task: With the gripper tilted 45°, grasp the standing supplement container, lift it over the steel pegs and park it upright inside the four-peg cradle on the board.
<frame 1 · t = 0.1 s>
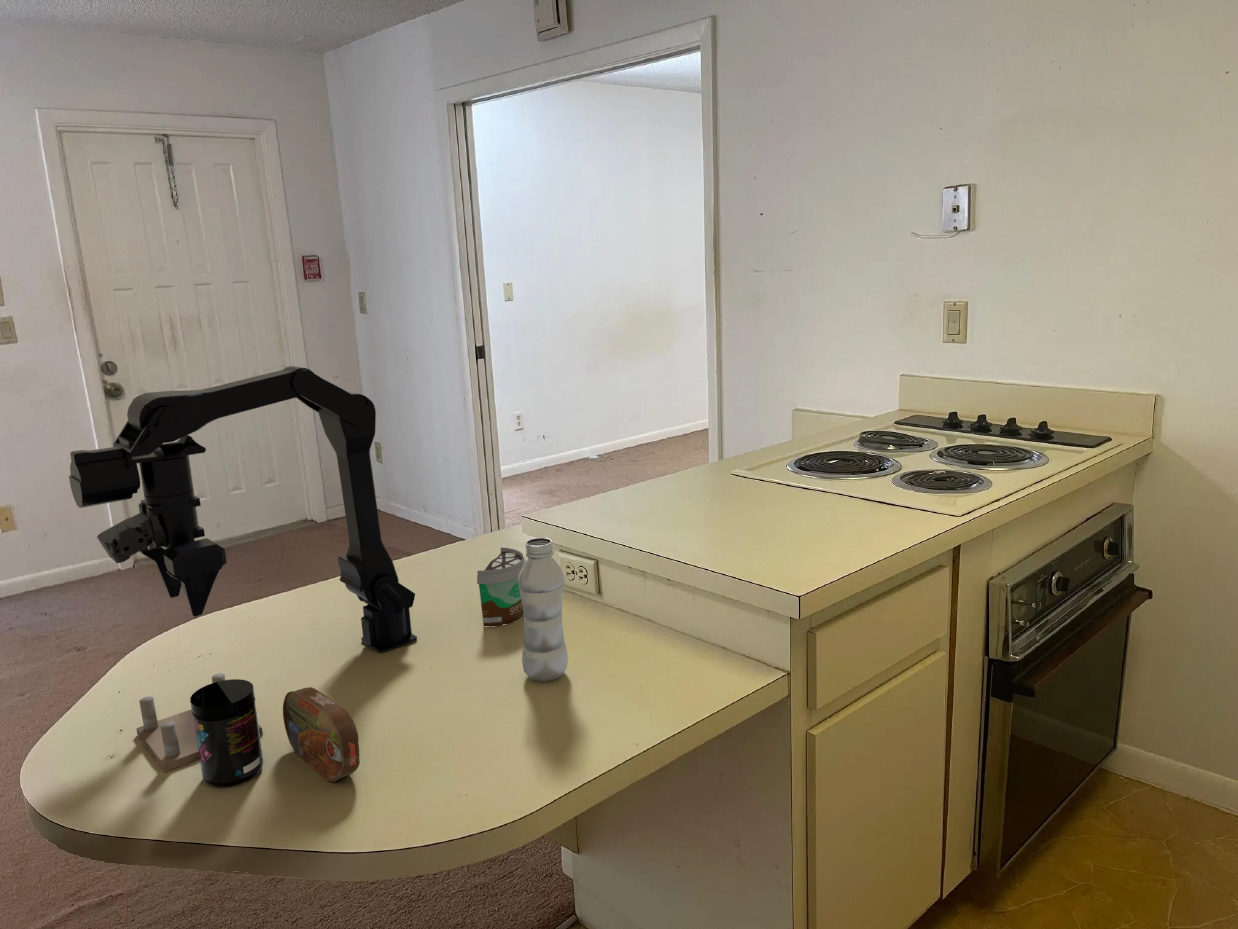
hand: (185, 605, 117), 15 cm above the table, tool pointing down, fingers open, 9 cm apart
food container: (511, 617, 147), on the table
tin: (324, 764, 106), on the table
plastic bottle: (546, 677, 126), on the table
supplement container: (234, 775, 105), on the table
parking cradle: (199, 735, 113), on the table
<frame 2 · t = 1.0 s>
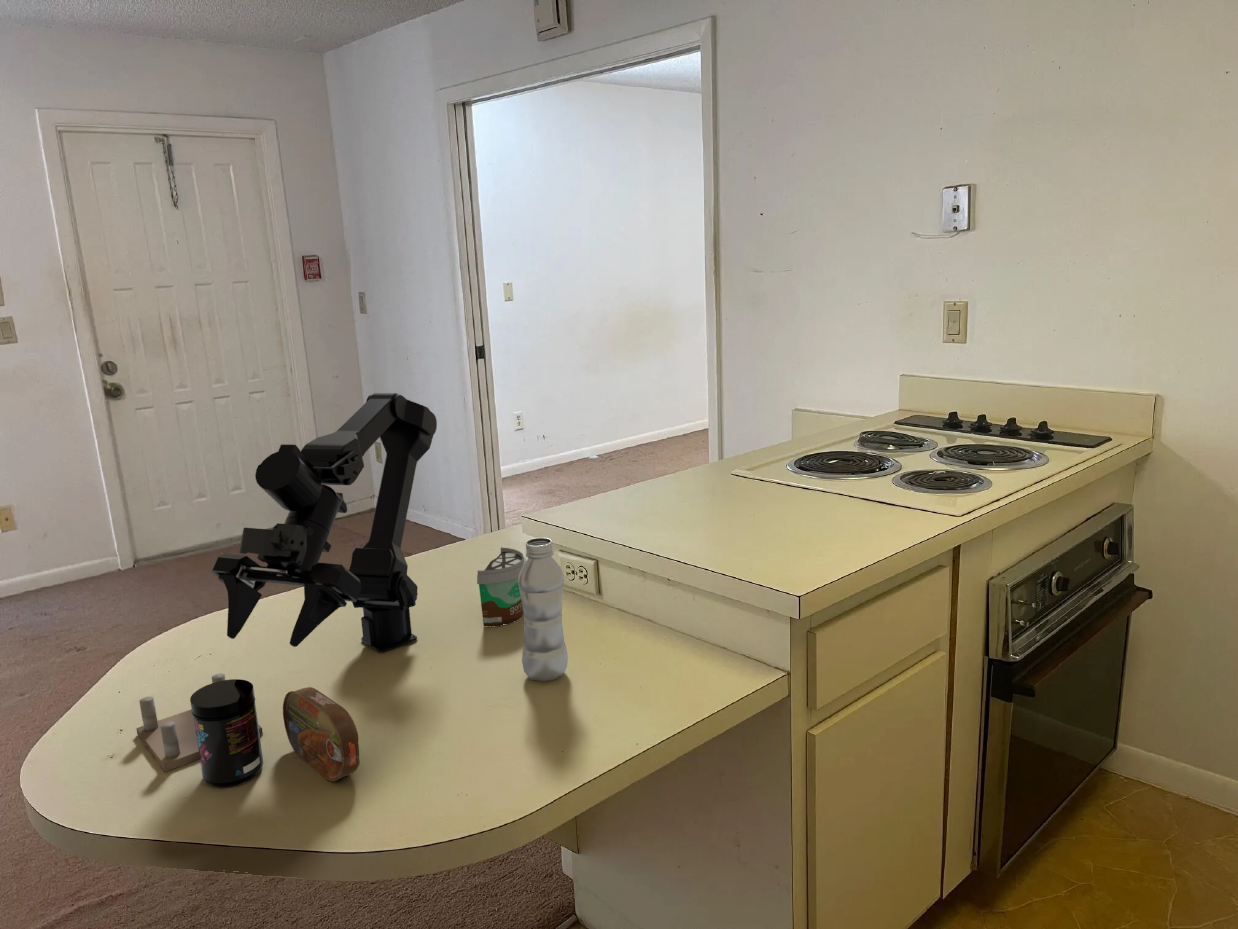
hand: (261, 641, 109), 13 cm above the table, tool tilted 45°, fingers open, 9 cm apart
nothing on the table moved.
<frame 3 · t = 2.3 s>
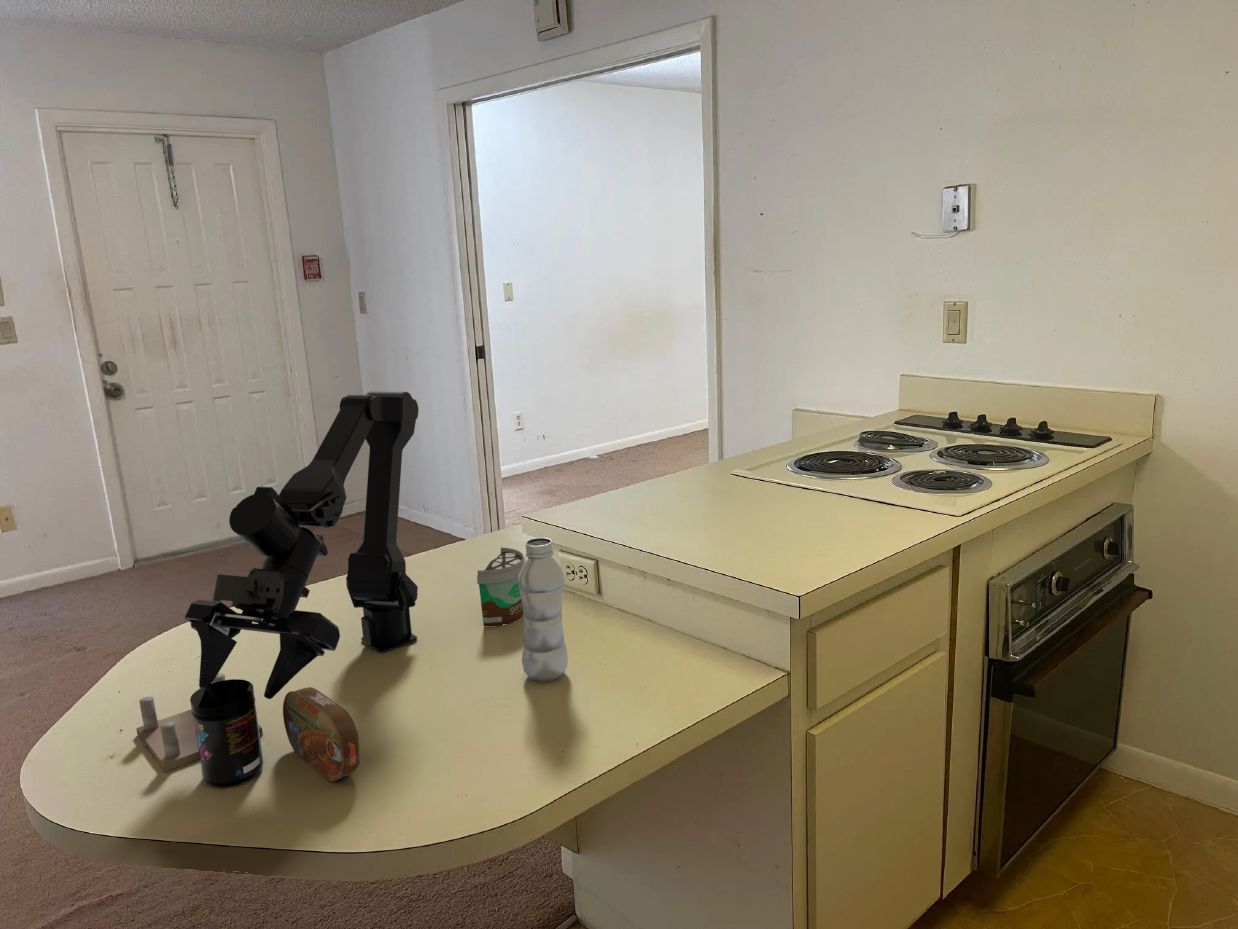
hand: (234, 693, 104), 9 cm above the table, tool tilted 45°, fingers open, 9 cm apart
nothing on the table moved.
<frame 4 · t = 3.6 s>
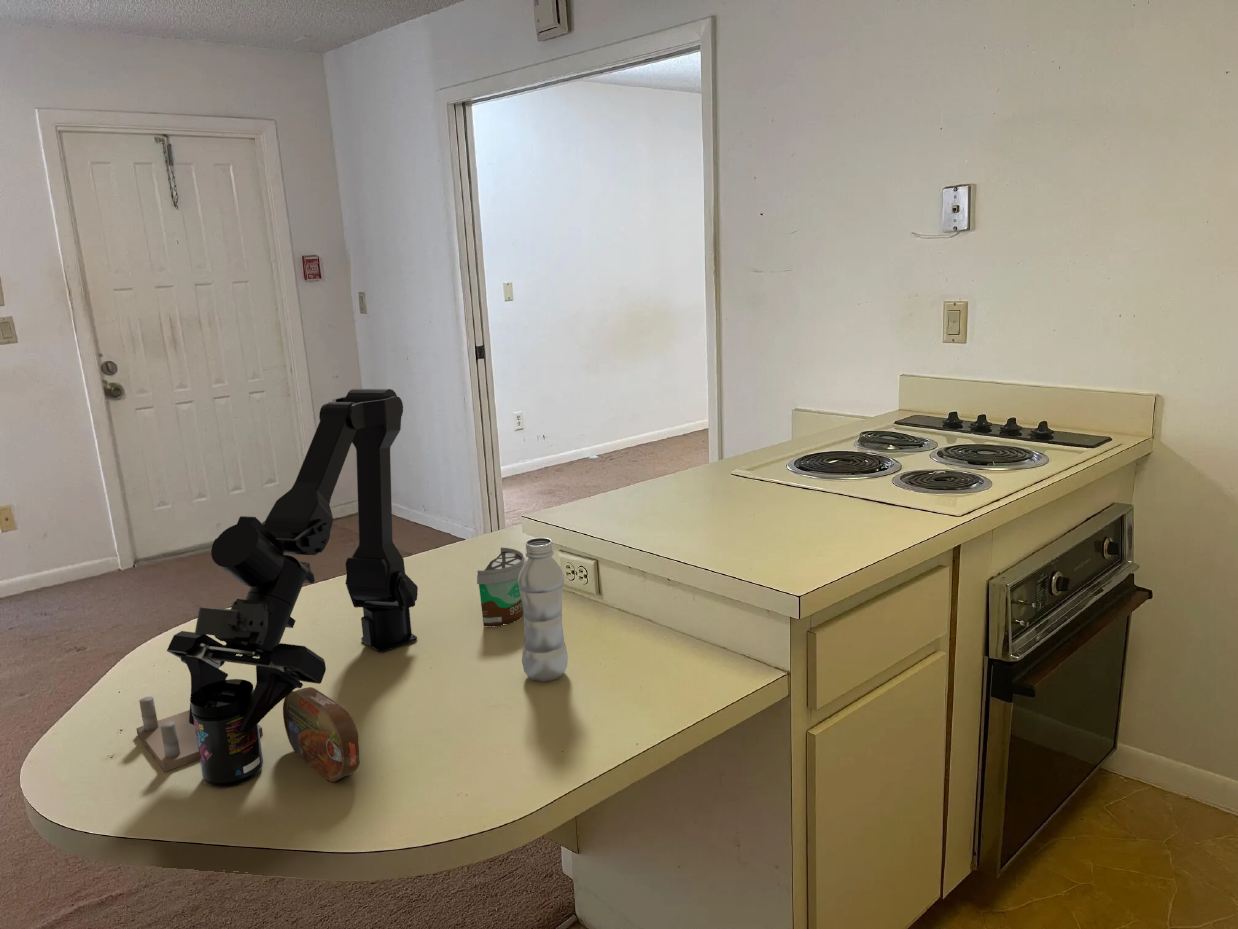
hand: (217, 728, 102), 7 cm above the table, tool tilted 45°, fingers closed on supplement container, 7 cm apart
supplement container: (234, 774, 105), on the table, touching gripper
everything else where it was.
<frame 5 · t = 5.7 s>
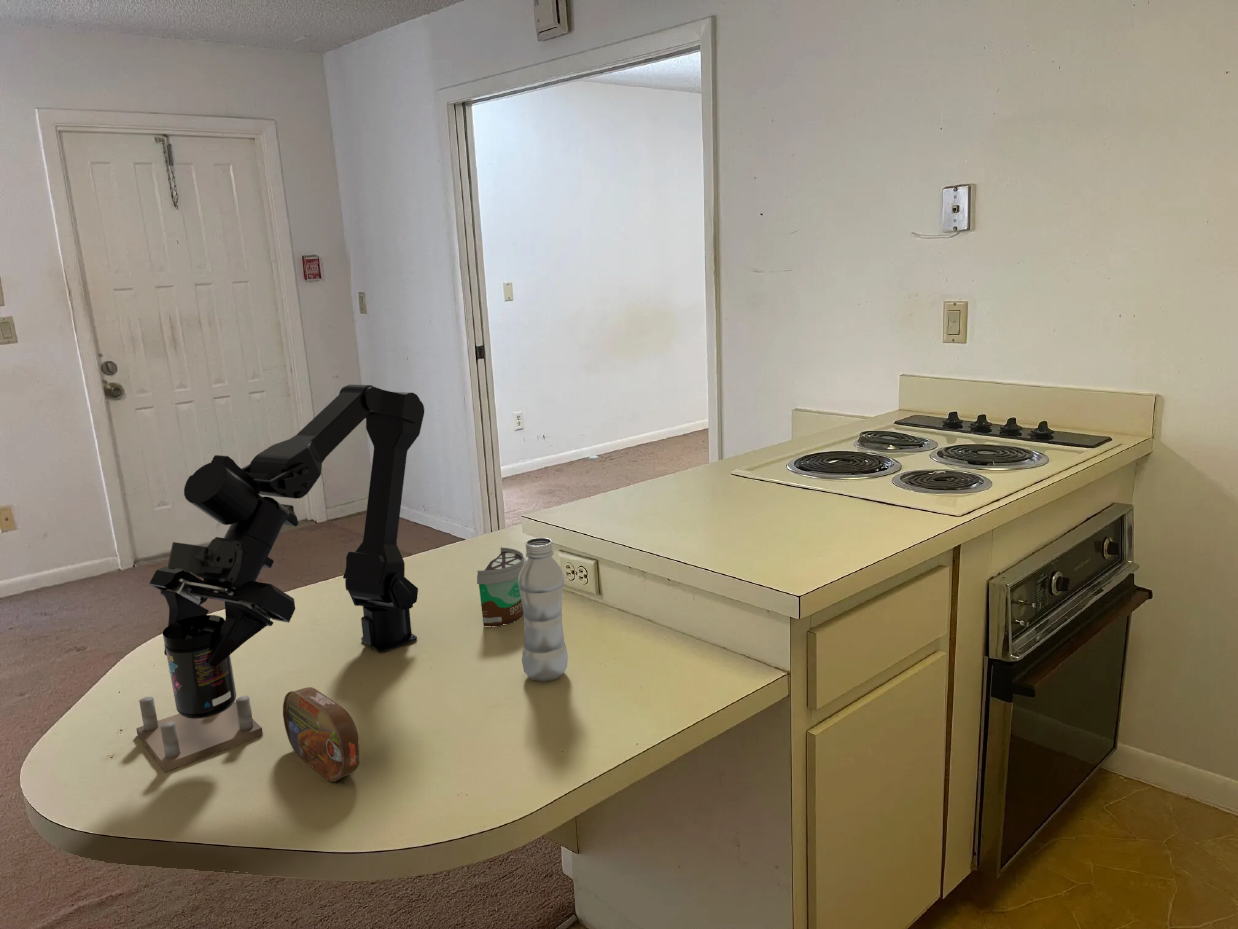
hand: (189, 660, 104), 13 cm above the table, tool tilted 45°, fingers closed on supplement container, 7 cm apart
supplement container: (207, 707, 107), point 6 cm above the table, touching gripper
everything else where it was.
when the fingers open (9 cm above the table, at t = 7.8 s): supplement container drops 1 cm, resting on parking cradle.
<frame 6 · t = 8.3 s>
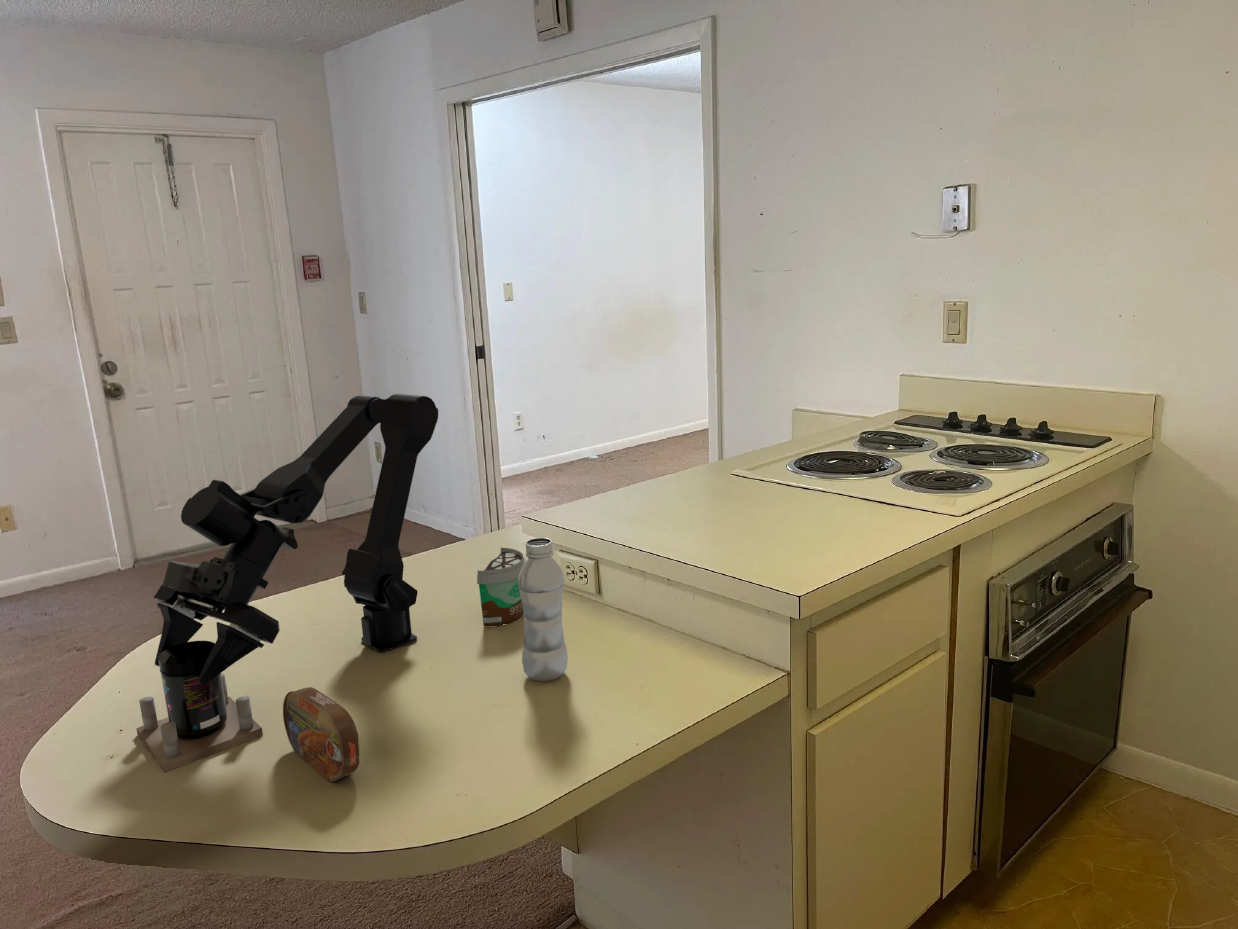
hand: (179, 674, 110), 9 cm above the table, tool tilted 45°, fingers open, 9 cm apart
supplement container: (200, 728, 113), point 1 cm above the table, touching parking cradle
everything else where it was.
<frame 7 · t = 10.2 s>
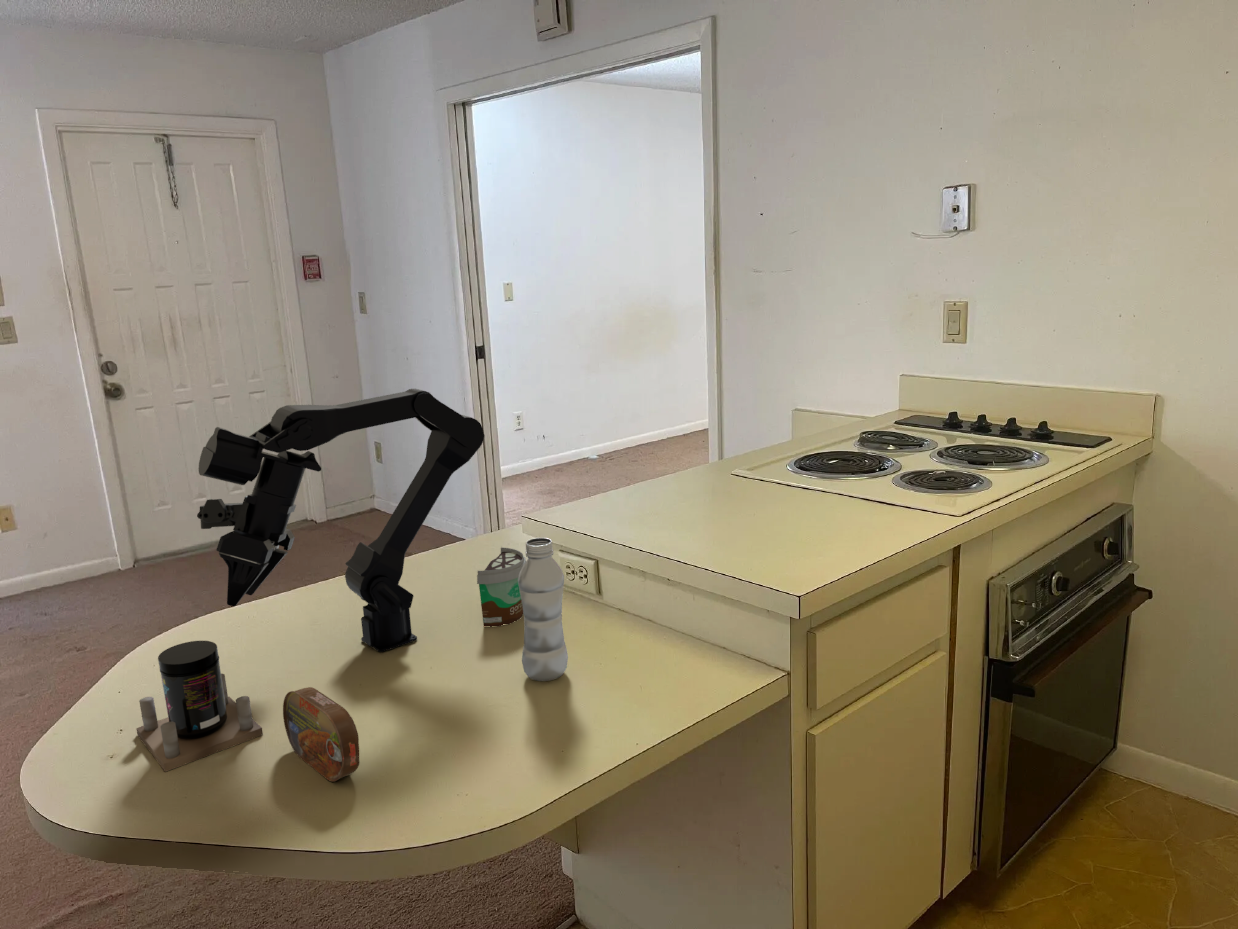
hand: (239, 599, 124), 13 cm above the table, tool tilted 25°, fingers open, 9 cm apart
nothing on the table moved.
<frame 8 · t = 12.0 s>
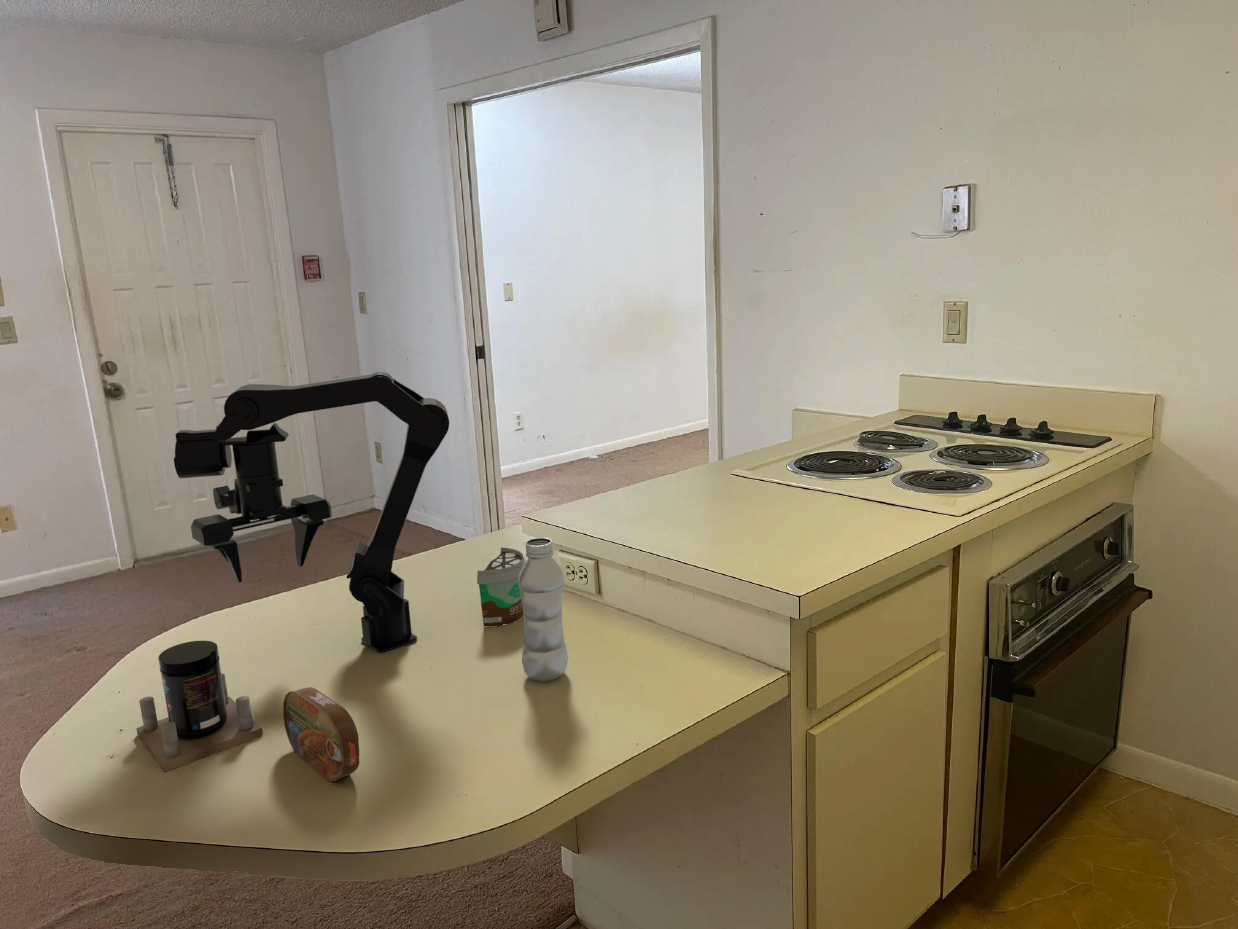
hand: (270, 573, 133), 13 cm above the table, tool pointing down, fingers open, 9 cm apart
nothing on the table moved.
at the end: supplement container 0.1 cm off-centre on the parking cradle, point 0.8 cm above the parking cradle's base; supplement container tilted 0°; the gripper is holding nothing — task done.
